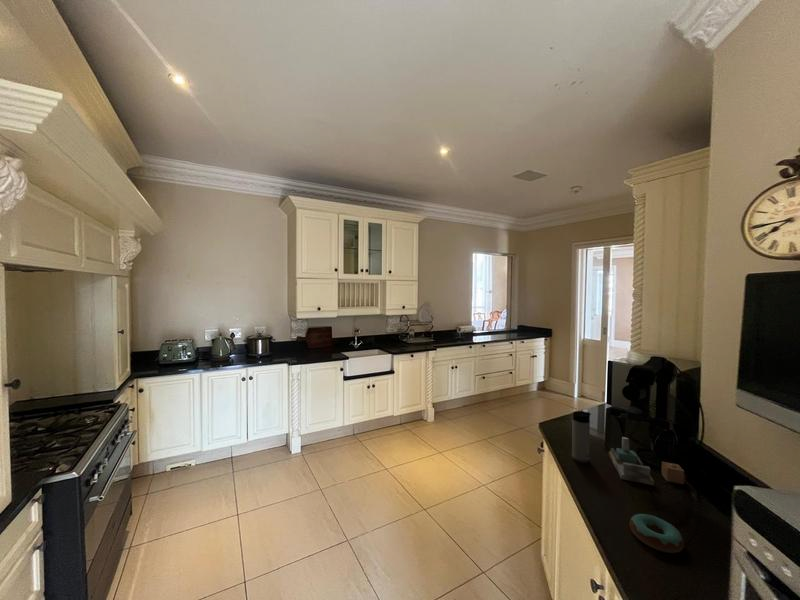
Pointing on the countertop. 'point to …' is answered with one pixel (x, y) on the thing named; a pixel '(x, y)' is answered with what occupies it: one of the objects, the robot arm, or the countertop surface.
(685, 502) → the countertop surface
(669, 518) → the countertop surface
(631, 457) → the ram
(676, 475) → the box
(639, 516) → the donut
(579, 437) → the travel mug
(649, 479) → the frame
